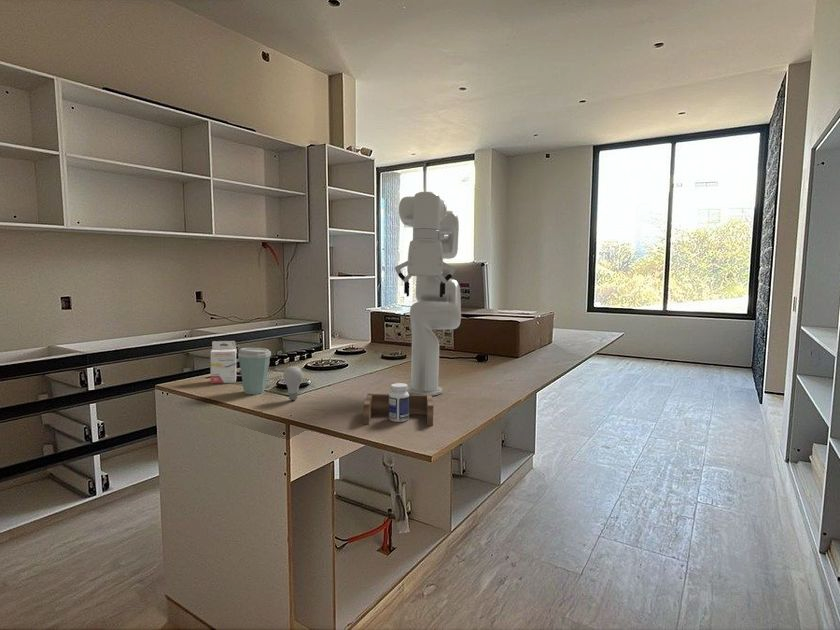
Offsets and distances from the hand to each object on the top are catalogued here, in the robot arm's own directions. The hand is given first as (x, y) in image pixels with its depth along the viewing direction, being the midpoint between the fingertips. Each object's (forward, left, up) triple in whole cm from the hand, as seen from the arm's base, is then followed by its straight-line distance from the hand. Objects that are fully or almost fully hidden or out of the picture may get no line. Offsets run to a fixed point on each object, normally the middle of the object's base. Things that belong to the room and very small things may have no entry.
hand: (424, 296), depth 137 cm
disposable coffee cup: (-21, -56, -35) cm, 69 cm away
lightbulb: (-12, -41, -35) cm, 55 cm away
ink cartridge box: (-35, -72, -35) cm, 87 cm away
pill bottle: (+5, -7, -35) cm, 36 cm away
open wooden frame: (+5, -7, -35) cm, 36 cm away
